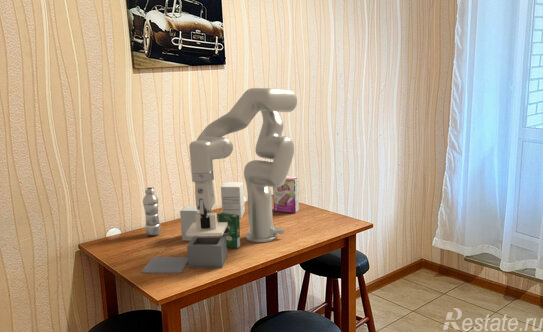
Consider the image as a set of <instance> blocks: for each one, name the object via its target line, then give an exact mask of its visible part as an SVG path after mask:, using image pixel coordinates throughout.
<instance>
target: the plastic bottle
mask: <svg viewBox="0 0 543 332" xmlns="http://www.w3.org/2000/svg"><path fill="white" fill-rule="evenodd" d="M142 204H143V205H142V206H143V208H144V214H145V225H144V226H145V228H144V230H145V233H146V235H148V236H157V235H160V233H161V231H162V226H161V222H160V218H159V198H158V196H157V195H156V194H155V187H151V186H150V187H145V188H144V197H143V199H142Z"/></svg>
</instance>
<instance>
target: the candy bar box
mask: <svg viewBox="0 0 543 332" xmlns="http://www.w3.org/2000/svg"><path fill="white" fill-rule="evenodd" d="M272 192H273V193H272V199H273V211H274V212H280V213H290V214H297V213H298V212H299V210H300V201H299V200H300V199H299V198H300V197H299V196H300V195H299V193H300V189H299V176H290V175H289V176H288V175H287V178H286V180H285V182H284V184H283V185H282V186H280V187H272Z"/></svg>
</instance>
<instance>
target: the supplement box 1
mask: <svg viewBox="0 0 543 332" xmlns="http://www.w3.org/2000/svg"><path fill="white" fill-rule="evenodd" d="M179 212H180V213H179V216H180V228H181V240H182V241H188V242H190V241H191V240H192V238H193V237H194V236H186V232H187V230H188V229H189V228H190V226H191V225H192V223H196V217H195V215H196V214H197V213H200V210H197V208H196V205H186V206H184V207H183V208H182V209H181V210H180V211H179Z"/></svg>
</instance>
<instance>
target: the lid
mask: <svg viewBox="0 0 543 332" xmlns="http://www.w3.org/2000/svg"><path fill="white" fill-rule="evenodd" d="M208 216H209V217H210V228H205V229H202V228H201V221H200V213H197V214H196V215H195V217H196V223H192V225H191V226H190V228H189V229H188V230H187V232H186V236H222V235H223V233H224V231H225V229H226V227H227V225H228V222H219V221H218V214H217V212H211V213H208Z"/></svg>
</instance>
